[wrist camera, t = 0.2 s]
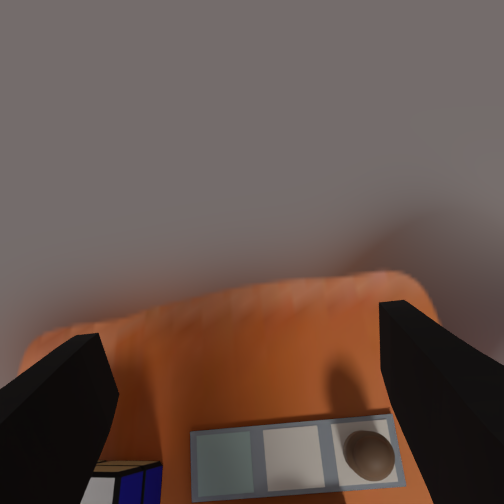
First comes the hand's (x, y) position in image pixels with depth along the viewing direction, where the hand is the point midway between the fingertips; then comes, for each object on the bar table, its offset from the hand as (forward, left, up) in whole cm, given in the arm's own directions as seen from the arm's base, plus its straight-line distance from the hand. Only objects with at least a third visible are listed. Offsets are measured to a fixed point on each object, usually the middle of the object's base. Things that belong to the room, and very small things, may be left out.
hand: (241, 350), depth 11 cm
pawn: (-4, -6, -30) cm, 31 cm away
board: (-4, 0, -30) cm, 31 cm away
